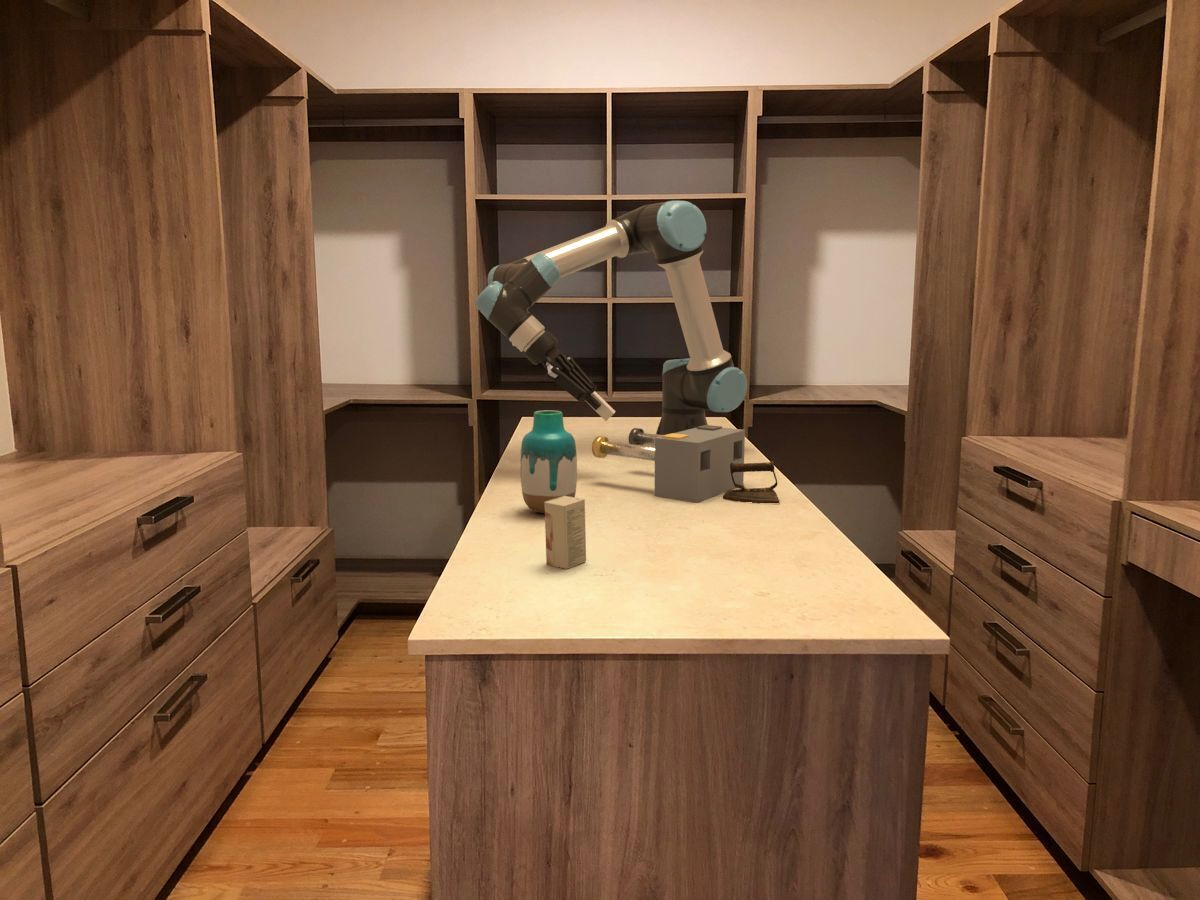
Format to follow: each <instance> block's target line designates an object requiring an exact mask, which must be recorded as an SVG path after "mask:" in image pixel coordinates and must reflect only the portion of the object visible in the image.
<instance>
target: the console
mask: <svg viewBox="0 0 1200 900" xmlns="http://www.w3.org/2000/svg"><path fill="white" fill-rule="evenodd" d="M745 438H746V430H745V429H740V428H739V429H738V428H730V427H723V426H720V425H710V424H708V425H703V426H699V427H697V428H693V429H689V430H685V431H681V432H677V433H671V434H667V435H663V436H661V437H657V438H655V461H654V487H653V488H654V497H659V498H667V499H670V500H671V499H673V500H679V501H684V502H691V503H696V504H697V503H701V502H703V501H705V500H708V499H710V498H712V497H715V496H717V495H720V494H723V493H725V492H727V491H728V490H735V489H736V488H737V487H735V486H734V484H733V481H732V476H731V472H730V463H733V464H741V463H745V441H746V440H745ZM744 473H745V472H734V473H733V478H734V482H735V483H736V484H739V485H743V486H744V476H745V475H744Z"/></svg>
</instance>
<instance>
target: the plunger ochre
mask: <svg viewBox="0 0 1200 900" xmlns="http://www.w3.org/2000/svg"><path fill="white" fill-rule="evenodd" d="M591 452H592V455H593V456H594V457H595V458H600V459H604V458H606V457H607V456H616V457H622V458H623V457H624V458H631V459H638V460H645V461H652V462H653V461H654V462H655V447H653V446H645V445H643V446H640V445H632V444H629V443H622V442H615V441H610V440H609V439H608V437H606V436H599V435H598V436H596V437H595V438H594V440H593V442H592V445H591Z"/></svg>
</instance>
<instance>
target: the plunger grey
mask: <svg viewBox="0 0 1200 900" xmlns="http://www.w3.org/2000/svg"><path fill="white" fill-rule="evenodd" d="M661 436H663V435H657V434H656V433H647V432H645V431H644V429H643V428H640V427H633V428H632V429H631V430H630V432H629V435H628V444H632V445H640V446H648V447H655V438H657V437H661Z"/></svg>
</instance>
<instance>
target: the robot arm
mask: <svg viewBox="0 0 1200 900" xmlns="http://www.w3.org/2000/svg"><path fill="white" fill-rule="evenodd" d="M705 235H707V221H706V219H705V216H704V214H703V213H702V211H701V209H700V208H699V207H698V206H697V205H695V204H693V203H691V202H690V201H686V200H674V199H673V200H668V201H663V202H656V203H650V204H649V203H648V204H645V205H642V206H640V207H638V208H635V209H633V210H631V211H629V212H627V213H624V214H621V216H618V217H616V218H613V219H610V220H608V221H607V223H606V224H605V226H603V227H602V228H599V229H596V230H594V231H590V232H588V233H586V234H583V235H580V236H577V237H574V238H572V239H570V240H567V241H565V242H562V243H559V244H557V245H554V246H551V247H549V248H547V249H544V250H540V251H539V252H535V253H533V254H530V255H528V256H525V257H523V258H520V259H517V260H514V261H512V262H509V263H506V264H505V263H501V264H498V265H496V266H493V267H492V268H491V270H490V271H489V272H488V275H487V286H486V287H485V288H484V289H483V291H481V292H480V294H479V295H478V296H477V297H476V300H475V301H474V302H475V303H474V304H475V307H476V309H478V311H479V312H480V313H481V314H482V315H483V316H484V317H485V319H486V320H487V321H489V322H490V323H491V324H492V325H493V326H494V327H495V328H496V329H498V331H499V332H500V333H502V334H503V335H504V336H505V337H506V338H507V340H509V342H511V345H512V346H513V347H515V348H517V349H518V350H519V352H524V356H525V357H526V358H527V360H529V361H530V362H531V364H533V365H535V366H537V365H538V364H539V363H541V364H542V366H543V367H544V369H546V370H547V373H546V374H545V377H547V378H548V379H550V380H551V381H553V382H554V383H555V384H557V385H558V386H559V387H560V388H562V389H563V390H564V391H566V392H567V393H568V394H569V395H570V396H571V397H573V398H574V399H575V400H577V401H578V402H580V403H581V404H583V403H584V402H586V403H587V404H588V405H589V406H590V407H591V408H592V409H593V410H594V411H595V412H596V413H597V414H598V415H599V416H600V417H601V418H602V419H603V420H604V421H605V422H607V421H608V420H609V419H610V418H611V417H612V416H613V415H614V414H615V413H616V410H615V409H613V407H612V406H611V405H610V404H608V402H606V400H605V399H604V398H602V396H600V395H599V394H598V393H597V391H596V390H597V389H598V388H597V385H595V383H594V382H593V381H592V380H591V379H590V378H589V376H588V375H587V373H586V372H585V371H584V370H582V369H583V368H581V367H580V366H579V365H578V363H577V362H576V361H575V360H574V357H573V355H571V354H570V353H566V354H564V353H563V352H562V351H561V350H559V349H558V348H556V346H557V345H558V344H559V343H558V342H559V341H558V339H557V338H556V337H555V336H554V335H553V334H552V333H551V332H550V331H549V330H546V331H545V326H544V325H543V324H542V323H541V322H540V321H539V319H537V318H536V317H535V316H534V315H533V314H532V313H530V312H529V309H531V307H533V306H534V305H535V303H537V302H538V301H539V299H541V298H542V297H543V296H544V295H546V293H548V292H549V290H551V289H552V288H553V287H554V285H555V284H556V283H557V282H558V281H559V280H560V278H561V279H562V278H563V277H566V276H570V275H571V274H573V273H577V272H579V271H582V270H584V269H587V268H589V267H591V266H594V265H597V264H600V263H601V262H604V261H606V260H610V259H612V258H614V257H616V258H620V259H623V258H626V257H628V256H631V255H635V254H645V253H654V258H655V261H656V264H657V266H659V267H661V268H662V269H663V270H665V273H666V277H667V279H668V280H667V281H668V284H669V288H670V291H671V294H672V298H673V299H672V300H673V302H674V305H675V309H676V312H677V317H678V319H679V324H680V326H681V327H680V328H681V330H682V334H683V337H684V341H685V344H686V348H687V351H688V355H689V357H688V358H679V359H678V358H677V359H669V360H665V362H664V363H663V365H662V367H663V368H662V373H661V376H662V393H661V394H662V398H661V399H662V404H661V406H662V407H661V408H662V409H661V410H662V412H661V418H660V420H659V424H658V426H657V429H656V433H655V434H657V435H667V434H671V433H677V432H681V431H685V430H689V429H693V428H697V427H699V426H703V425H709V424H708V421H707V417H706V410H707V411H712V412H714V413H729V412H732V411H733V410H736V409H737V408H738V407H739V406H740V405H741V404H742V402H743V400H744V397H746V395H747V391H748V381H747V376H746V374H745V373H744V371H742V370H741V369H740V368H738V367H735V365H734V361H733V359H732V355H731V353H730V352H728V351H726V350H724V347H723V344H722V340H721V339H722V338H721V337H720V331H719V329H718V325H717V320H716V317H715V313H714V308H713V307H712V303H711V298H710V293H709V292H708V291H709V290H708V288H707V284H706V279H705V276H704V272H703V269H702V266H701V262H700V261H701V260H700V259H701V258H700V257H701V256H702V255H703V253H704V248H703V242H704V241H705V240H706V237H705Z"/></svg>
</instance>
